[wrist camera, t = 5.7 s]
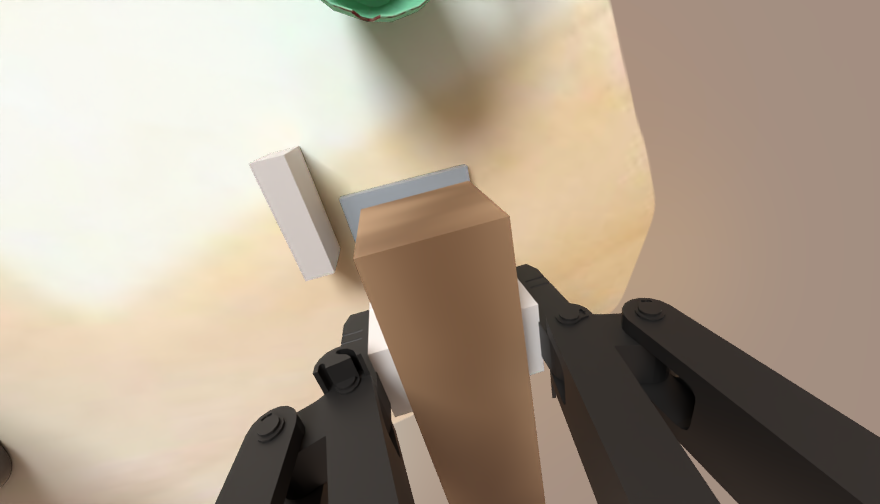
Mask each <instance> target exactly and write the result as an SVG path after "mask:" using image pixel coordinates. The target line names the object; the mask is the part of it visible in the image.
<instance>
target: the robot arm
mask: <svg viewBox="0 0 880 504" xmlns="http://www.w3.org/2000/svg"><path fill="white" fill-rule="evenodd" d="M516 271H517V280H518V288H519V296H520V304H521V312H522V320H523V328H524V336H525V344H526V352H527V360H528V368H529V375H532V374H536V373H539V372H542V371H544V364H543V359H544V361H545V362H546V364H547V366H548V367H549V369H550V375H551V387H552V397H553V398H556V395H557V398H558V401H559V403H560V406H561V408H562V411H563V414H564V416H565V419H566V422H567V424H568V427H569V429H570V432H571V435H572V437H573V440H574V442H575V445H576V447H577V450H578V453H579V456H580V458H581V461H582V463H583V466H584V469H585V471H586V474H587V477H588V479H589V482H590V484H591V487H592V490H593V492H594V495H595V498H596V500H597V503H598V504H720V502H719V501H718V500H717V498H716V497H715V495H714V494H713V492H712V491H711V489H710V488H709V486H708V485H707V483H706V482H705V480H704V479H703V477H702V476H701V474H700V473H699V471H698V470H697V468H696V467H695V465H694V464H693V463H692V461H691V460H690V458H689V457H688V455H687V454H686V452H685V451H684V449H683V448H682V446H683V447H684V448H685V449H686V450H687V451H688V452H689V453H690V454H691V455H692V456H693V457H694V458H695V459H696V460H697V461H698V462H699V463H700V464H701V465H702V466H703V467H704V468H705V469H706V470H707V472H708V473H709V474H710V475H711V476H712V477H713V478H714V479H715V480H716V481H717V482H718V483H719V484H720V485H721V486H722V487H723V488H724V489H725V490H726V491H727V492H728V493H729V494H730V495H731V496H732V497H733V499H734V500H735V501H737V503H739V504H880V437H878V436H877V435H875V434H874V433H872V432H870V431H869V430H867V429H866V428H864V427H862V426H861V425H859V424H858V423H856V422H855V421H853V420H851V419H850V418H848V417H847V416H845V415H843V414H842V413H840V412H839V411H837V410H835V409H834V408H832V407H831V406H829V405H827V404H826V403H824V402H823V401H821V400H820V399H818V398H816V397H815V396H813V395H812V394H810V393H809V392H807V391H805V390H804V389H802V388H800V387H799V386H797V385H796V384H794V383H792V382H791V381H789V380H788V379H786V378H785V377H783V376H782V375H780V374H778V373H777V372H775V371H774V370H772V369H770V368H769V367H767V366H766V365H764V364H762V363H761V362H759V361H758V360H756V359H755V358H753V357H751V356H750V355H748V354H747V353H745V352H744V351H742V350H740V349H739V348H737V347H736V346H734V345H732V344H731V343H729V342H728V341H726V340H724V339H722V338H721V337H720V336H718V335H716V334H715V333H713V332H712V331H710V330H708V329H707V328H705V327H704V326H702V325H701V324H699V323H697V322H696V321H694V320H693V319H691V318H690V317H688V316H686V315H685V314H683V313H682V312H680V311H678V310H677V309H675V308H674V307H672V306H671V305H669V304H666V303H664V302H662V301H660V300H655V299H650V298H638V299H632V300H630V301H628V302H627V303H625V304H624V306H623V308H622V313H621V314H592V313H591V312H590V311H589V310H588V309H587V308H585V307H583V306H580V305H577V304H571V303H569V302H568V301H567V300H566V299H565V298H564V297H563V296H562V295H561V294H560V293H559V291H558V290H557V289H556V288H555V287H554V286H553V285H552V284H551V283H549V281H548V280H547V279H546V278H545V277H544V276H543V275H542V274H541V273H540V271H539V270H538V269H536V268H534V267H532V266H529V265H527V264H525V265H521V266H518V267H516ZM342 336H343V337H342V341H341V344H342V345H341V347H337V348H335V349H333V350H331V351H329V352H327V353H326V354H325V355H324V356H323V357H322V358H320V359H319V361H318V362H317V364H316V365H315V367H314V371H313V375H314V377H315V378H316V380H317V382H318V384H319V385H320V387H321V389H322V391H323V393H324V396H322V397H321V398H320V399H319V400H317V401H316V402H314V403H312V404H311V405H309V406H307V407H306V408H304V409H302V410H300V411H299V412H297V413H296V411H295V409H294V408H291V407H289V406H280V407H277V408H275V409H272V410H270V411H268V412H267V413H265V414H264V415H263V416H261V417H260V418H259V419H258V420H257V421H256V422H255V423H254V424H253V425H252V426H251V428H250V430H249V431H248V433H247V434H246V436H245V439H244V441H243V443H242V445H241V447H240V450H239V452H238V454H237V456H236V458H235V461H234V463H233V465H232V467H231V470H230V472H229V474H228V476H227V478H226V481H225V483H224V485H223V487H222V489H221V492H220V494H219V496H218V498H217V501H216V503H215V504H415V503H414V499H413V495H412V492H411V488H410V484H409V480H408V476H407V472H406V469H405V465H404V461H403V457H402V453H401V449H400V446H399V442H398V438H397V434H396V430H395V428H394V426H393V424H392V421H391V409H392V411H393V414H394V416H395V417H397V416H400V415H403V414H407V413H410V412H413V411H412V408H411V405H410V403H409V400H408V398H407V395H406V393H405V390H404V388H403V385H402V382H401V380H400V377H399V375H398V372H397V370H396V367H395V365H394V362H393V359H392V357H391V354H390V352H389V349H388V347H387V344H386V342H385V339H384V336H383V334H382V331H381V329H380V326H379V324H378V321H377V319H376V316H375V313H374V311H373V308H372V306H371V303H370V308H369V310H367V311H364V312H360V313H357V314H353V315H350V317H349V318H348V320H347V321H346V323H345V324H344V328H343V334H342ZM680 444H681V445H682V446H681V445H680ZM10 473H11V461H10V458H9V456H8V454H7V453H6V451H5V450H4V449H3V447H2V446H1V445H0V487H1V486H2V485H3V484H4V483H5V482H6V481H7V480H8V478H9V476H10Z"/></svg>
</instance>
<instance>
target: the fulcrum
mask: <svg viewBox="0 0 880 504" xmlns="http://www.w3.org/2000/svg"><path fill="white" fill-rule="evenodd" d="M466 181H470V179H469V173H468V167H467V165H465V164H463V165H459V166H455V167H451V168H448V169H444V170H440V171H436V172H432V173H428V174H425V175H421V176H417V177H413V178H409V179H406V180H402V181H398V182H394V183H390V184H386V185H383V186H379V187H375V188H371V189H367V190H363V191H360V192H356V193H352V194H348V195H344V196H340V198H339V201H340V204H341V206H342V209H343V211H344V214H345V217H346V219H347V222H348V225H349V227H350V230H351V233H352V235H353V238H354V241H355V243H356V238H357V231H358V225H359V218H360V211H361V209H364V208H368V207H372V206H375V205H379V204H383V203H387V202H390V201H394V200H398V199H402V198H405V197H409V196H413V195H417V194H420V193H424V192H428V191H432V190H435V189H439V188H443V187H447V186H450V185H454V184H458V183H462V182H466Z"/></svg>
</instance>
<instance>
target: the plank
mask: <svg viewBox="0 0 880 504" xmlns="http://www.w3.org/2000/svg"><path fill="white" fill-rule="evenodd" d="M353 260H354V262H355V265H356V268H357V270H358V273H359V275H360V278H361V280H362V283H363V285H364V288H365V291H366V293H367V296H368V298H369V301H370V303H371V306H372V308H373V311H374V313H375V316H376V319H377V321H378V324H379V326H380V329H381V331H382V334H383V336H384V339H385V342H386V344H387V347H388V349H389V352H390V354H391V357H392V359H393V362H394V365H395V367H396V370H397V372H398V375H399V377H400V380H401V382H402V385H403V388H404V390H405V393H406V395H407V398H408V400H409V403H410V405H411V408H412V411H413V413H414V416H415V418H416V421H417V423H418V426H419V428H420V431H421V433H422V436H423V438H424V441H425V444H426V446H427V449H428V451H429V454H430V456H431V459H432V462H433V464H434V467H435V469H436V472H437V474H438V476H439V479H440V482H441V485H442V487H443V489H444V492H445V495H446V497H447V500H448V502H449V504H545V498H544V489H543V481H542V473H541V465H540V457H539V449H538V441H537V433H536V425H535V417H534V409H533V402H532V392H531V384H530V377H529V368H528V360H527V352H526V344H525V336H524V328H523V320H522V312H521V304H520V296H519V288H518V280H517V271H516V263H515V255H514V247H513V239H512V231H511V223H510V216H509V215H508V214H507V213H506V212H504V211H503V210H502V209H501V208H500V207H499V206H497V205H496V204H495V203H494V202H493V201H492V200H491V199H489V198H488V197H487V196H486V195H485V194H484V193H482V192H481V191H480V190H479V189H478V188H477V187H476V186H474V185H473V184H472V183H471V182H470V181H466V182H462V183H458V184H454V185H450V186H447V187H443V188H439V189H435V190H432V191H428V192H424V193H420V194H417V195H413V196H409V197H405V198H402V199H398V200H394V201H390V202H387V203H383V204H379V205H375V206H372V207H368V208H364V209H361V211H360V218H359V225H358V231H357V238H356V244H355V251H354V257H353Z"/></svg>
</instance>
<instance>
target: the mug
mask: <svg viewBox="0 0 880 504" xmlns="http://www.w3.org/2000/svg"><path fill="white" fill-rule="evenodd" d="M321 1H322V2H323V3H325V4H326V5H327V6H329V7H330V8H331V9H332V10H334V11H337V12H340V13H343V14H346V15H349V16H352V17H355V18H358V19H361V20H365V21H368V22H392V21H395V20H397V19H400V18H402V17H405V16H407V15H410V14H412V13H415V12H417V11H419V10H420V9H421V8H422V7H423V6H424V5H425V4H426V3H427V2H428V1H430V0H321Z"/></svg>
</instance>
